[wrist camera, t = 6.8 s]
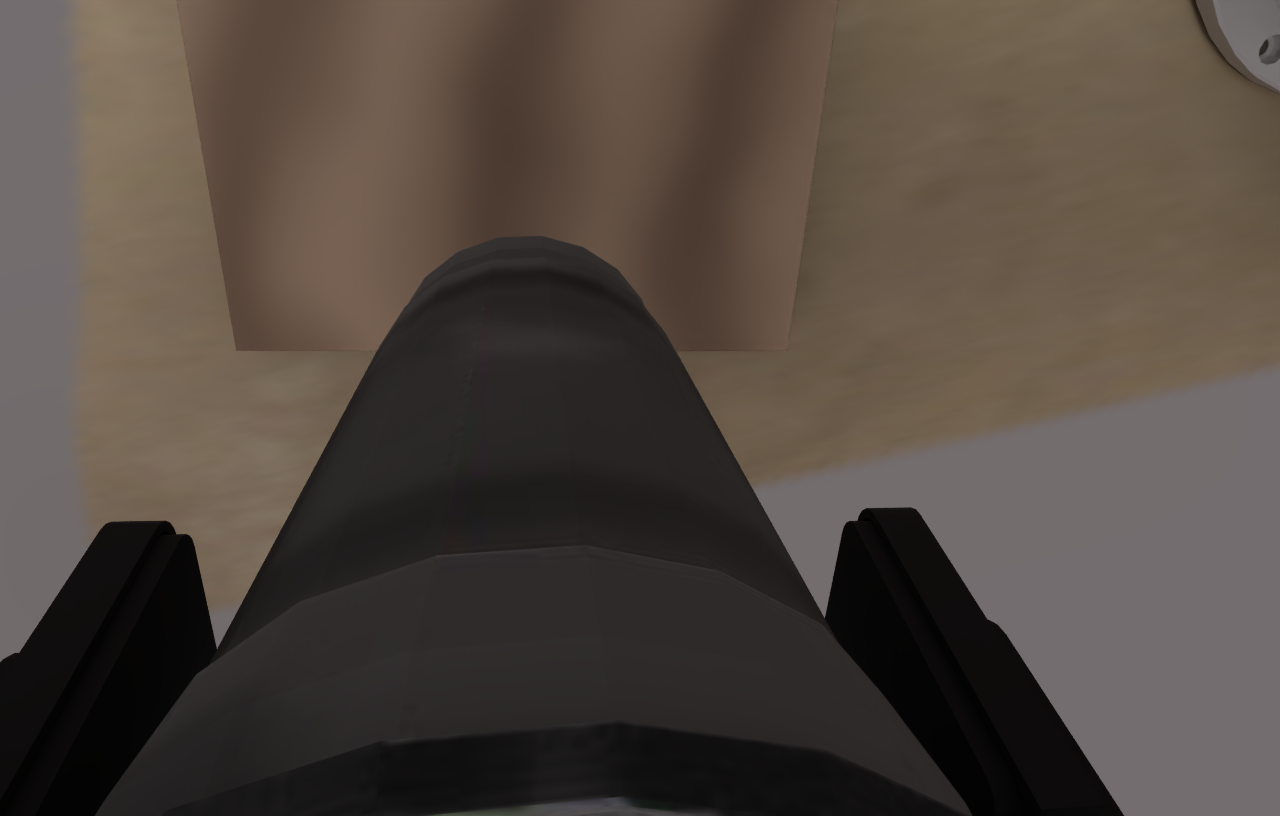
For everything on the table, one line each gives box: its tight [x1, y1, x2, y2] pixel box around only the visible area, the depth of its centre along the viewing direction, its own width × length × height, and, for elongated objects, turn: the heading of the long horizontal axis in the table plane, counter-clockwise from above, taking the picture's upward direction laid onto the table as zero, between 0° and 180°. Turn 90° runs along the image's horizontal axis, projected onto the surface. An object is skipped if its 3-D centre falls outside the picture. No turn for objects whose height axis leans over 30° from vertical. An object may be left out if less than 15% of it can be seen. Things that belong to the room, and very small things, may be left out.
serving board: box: [176, 0, 838, 351], centre depth 28 cm, size 18×12×2 cm, turn 87°
